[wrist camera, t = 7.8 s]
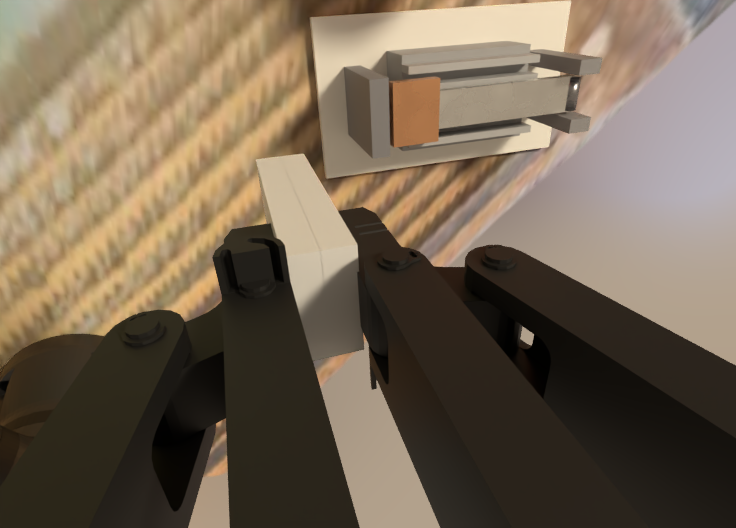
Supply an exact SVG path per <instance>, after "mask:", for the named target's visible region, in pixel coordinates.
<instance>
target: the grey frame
mask: <svg viewBox="0 0 736 528" xmlns="http://www.w3.org/2000/svg"><path fill="white" fill-rule="evenodd" d="M570 6H571V1H552V2H537V3H521V4H506V5H490V6H475V7H459V8H444V9H428V10H413V11H397V12H382V13H366V14H350V15H335V16H319V17H309V18H310V28H311V39H312V49H313V59H314V69H315V79H316V90H317V100H318V110H319V120H320V130H321V141H322V151H323V161H324V171H325V177H326V178H327V179H328V178H335V177H342V176H349V175H356V174H363V173H370V172H377V171H384V170H391V169H398V168H405V167H412V166H419V165H426V164H433V163H440V162H447V161H454V160H461V159H468V158H475V157H481V156H488V155H495V154H502V153H509V152H516V151H523V150H530V149H537V148H544V147H549V142H550V135H551V129H552V127H553V128H555V129H558V130H561V131H563V132H566V133H577V132H584V131H588V129H589V124H590V119H591V117H589V116H585V115H582V114H579V113H576V112H572V111H568V112H561V113H554V114H546V115H539V116H531V117H524V118H517V119H509V120H502V121H494V122H487V123H480V124H472V125H465V126H457V127H450V128H443V129H439V140H438V141H437V142H430V143H423V144H416V145H409V146H402V147H395V148H394V147H392V146H391V145H390V117H389V81H395V80H405V79H415V78H424V77H434V76H435V77H439V78H440V89H445V88H454V87H463V86H472V85H481V84H490V83H499V82H508V81H517V80H526V79H534V78H543V77H552V76H560V72H564V73H569V74H574V75H578V76H580V75H589V74H599V73H600V68H601V62H602V58H600V57H593V56H586V55H579V54H572V53H566V52H563V51H564V45H565V38H566V32H567V25H568V19H569V12H570Z"/></svg>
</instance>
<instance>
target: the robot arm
mask: <svg viewBox="0 0 736 528" xmlns="http://www.w3.org/2000/svg"><path fill="white" fill-rule="evenodd" d="M256 163H257V169H258V175H259V181H260V187H261V193H262V199H263V204H264V210H265V216H266V222H267V224H263V225H256V226H250V227H244V228H237V229H232V230H231V231H230V232H229V234H228V235H227V236H226V237H225V239H224V244H223V245H222V246H220V247H219V248H218V249H217V250H216V251H215V253H214V255H213V261H214V265H215V270H216V274H217V278H218V282H219V286H220V290H221V294H222V302H221V303H219V304H218V305H217V306H216V307H215V308H214V309H212V310H211V311H209V312H208V313H206V314H203V315H201V316H199V317H197V318H194V319H192V320H189V321H187V322H184V320H183V318H182V317H181V315H180V314H178V313H175V312H173V311H169V310H154V311H148V312H142V313H138V314H137V315H136V314H135V315H133V316H131V317H129V318H127V319H125V320H124V321H122V322H120V323H119V324H117V325H115V326H114V327H113V328H112V329H111V330H110V331H109V332H108V333H107V334H106V335H105V337H104V336H99V335H90V334H69V335H61V336H55V337H51V338H47V339H44V340H41V341H38V342H36V343H34V344H32V345H30V346H28V347H26V348H24V349H23V350H21V351H20V352H18V353H17V354H16V355H15V356H14V357H13V358H12V359H11V360H10V361H9V362H8V363H7V365H6V366H5V368H4V369H3V371H2V373H1V375H0V528H188V526H189V522H190V519H191V515H192V512H193V508H194V505H195V502H196V498H197V495H198V491H199V488H200V484H201V481H202V477H203V474H204V471H205V467H206V464H207V460H208V457H209V453H210V450H211V447H212V443H213V440H214V436H215V430H216V423H217V422H219V421H221V420H223V419H225V418H226V431H227V460H228V487H229V516H230V528H360V527H359V524H358V520H357V517H356V513H355V510H354V507H353V503H352V499H351V495H350V492H349V488H348V485H347V481H346V478H345V474H344V471H343V467H342V463H341V460H340V456H339V453H338V449H337V446H336V442H335V438H334V435H333V431H332V428H331V424H330V421H329V417H328V414H327V410H326V407H325V403H324V400H323V396H322V392H321V389H320V385H319V382H318V378H317V374H316V371H315V367H314V364H313V361H315V360H320V359H324V358H329V357H333V356H337V355H342V354H346V353H351V352H355V351H359V350H364V341H363V333H364V335H365V337H366V339H367V341H368V344H369V358H370V376H371V387H372V389H376V380H377V381H378V383H379V385H380V388H381V390H382V392H383V395H384V397H385V399H386V402H387V404H388V406H389V409H390V411H391V413H392V416H393V418H394V420H395V423H396V425H397V427H398V430H399V432H400V434H401V437H402V439H403V441H404V444H405V446H406V448H407V451H408V453H409V455H410V458H411V460H412V462H413V465H414V467H415V469H416V472H417V474H418V476H419V479H420V481H421V483H422V486H423V488H424V490H425V493H426V495H427V497H428V500H429V502H430V504H431V507H432V509H433V512H434V513H435V516H436V518H437V521H438V523H439V526H440V528H736V366H735V365H733V364H732V363H730V362H728V361H726V360H724V359H722V358H720V357H719V356H717V355H715V354H713V353H711V352H709V351H707V350H705V349H704V348H702V347H700V346H698V345H696V344H694V343H692V342H690V341H688V340H686V339H684V338H683V337H681V336H679V335H677V334H675V333H673V332H672V331H670V330H668V329H666V328H664V327H662V326H660V325H658V324H656V323H655V322H653V321H651V320H649V319H647V318H645V317H643V316H642V315H640V314H638V313H636V312H634V311H632V310H630V309H628V308H627V307H625V306H623V305H621V304H619V303H617V302H615V301H613V300H612V299H610V298H608V297H606V296H604V295H602V294H600V293H598V292H597V291H595V290H593V289H591V288H589V287H587V286H585V285H583V284H582V283H580V282H578V281H576V280H574V279H572V278H570V277H568V276H566V275H565V274H563V273H561V272H559V271H557V270H555V269H553V268H552V267H550V266H548V265H546V264H544V263H542V262H540V261H538V260H537V259H534V258H533V257H531V256H529V255H527V254H525V253H523V252H521V251H519V250H516V249H514V248H511V247H505V246H502V245H494V246H493V245H486V246H483V247H478V248H475V249H473V250H472V251H470V252H469V253H468V254H467V256H466V258H465V267H434V266H433V265H432V264H431V263H430V262H429V260H428V259H427V258H426V257H425V256H424V255H423V254H421V253H420V252H419V251H416V250H413V249H410V248H405V247H401V246H400V245H399V243H398V242H397V241H396V240H395V238H394V237H393V236H392V234H391V233H390V232H389V230H387V228H386V226H385V225H384V224H383V223H382V221H381V220H380V219H379V217H378V216H377V215H376V213H374V212H372V211H369V210H367V209H365V208H363V207H361V208H355V209H349V210H342V211H337V209H336V207H335V206H334V204H333V202H332V201H331V199H330V197H329V196H328V194H327V192H326V190H325V189H324V187H323V185H322V184H321V182H320V180H319V179H318V177H317V175H316V174H315V172H314V170H313V169H312V167H311V165H310V164H309V162H308V160H307V158H306V157H305V155H304V153H303V154H295V155H287V156H279V157H271V158H263V159H256ZM522 326H523V327H525V328H526V329H528V330H529V331H530V332H532V333H533V334H534V339H533V344H532V346H531V345H528V344H526V343H525V342H523V341H522V340H521V339H520V337H521V331H522Z"/></svg>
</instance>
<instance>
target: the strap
mask: <svg viewBox="0 0 736 528" xmlns="http://www.w3.org/2000/svg"><path fill="white" fill-rule="evenodd" d="M580 82H581V76H578V75H561V76H552V77H543V78H534V79H526V80H517V81H508V82H499V83H490V84H481V85H472V86H463V87H454V88H445V89H440V78H439V77H435V76H434V77H424V78H415V79H405V80H395V81H389V117H390V145H391V146H392V147H394V148H395V147H402V146H409V145H416V144H423V143H430V142H437V141H438V140H439V129H443V128H450V127H457V126H465V125H472V124H480V123H487V122H494V121H502V120H509V119H517V118H524V117H531V116H539V115H546V114H554V113H561V112H568V111H574V110H576V104H577V99H578V93H579V87H580Z"/></svg>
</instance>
